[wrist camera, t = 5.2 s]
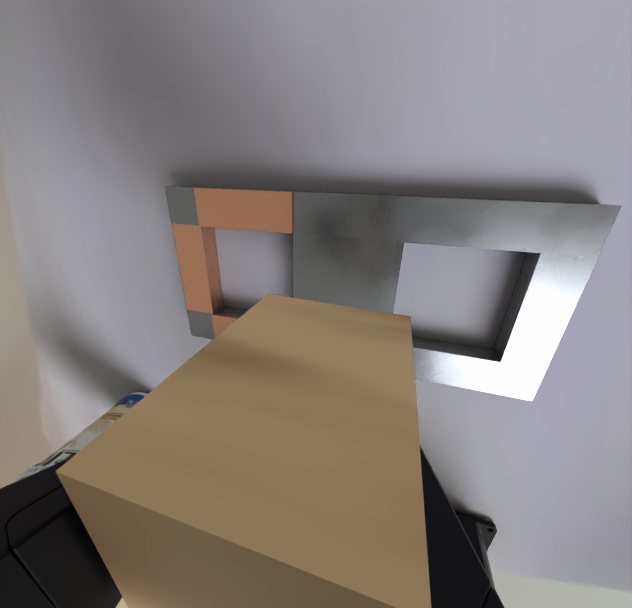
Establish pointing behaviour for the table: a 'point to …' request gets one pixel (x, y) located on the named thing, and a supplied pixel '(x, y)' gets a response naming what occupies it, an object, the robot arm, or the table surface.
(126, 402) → the beverage bottle
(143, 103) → the table surface
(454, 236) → the rail frame
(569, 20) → the table surface
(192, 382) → the wooden block
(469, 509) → the table surface
